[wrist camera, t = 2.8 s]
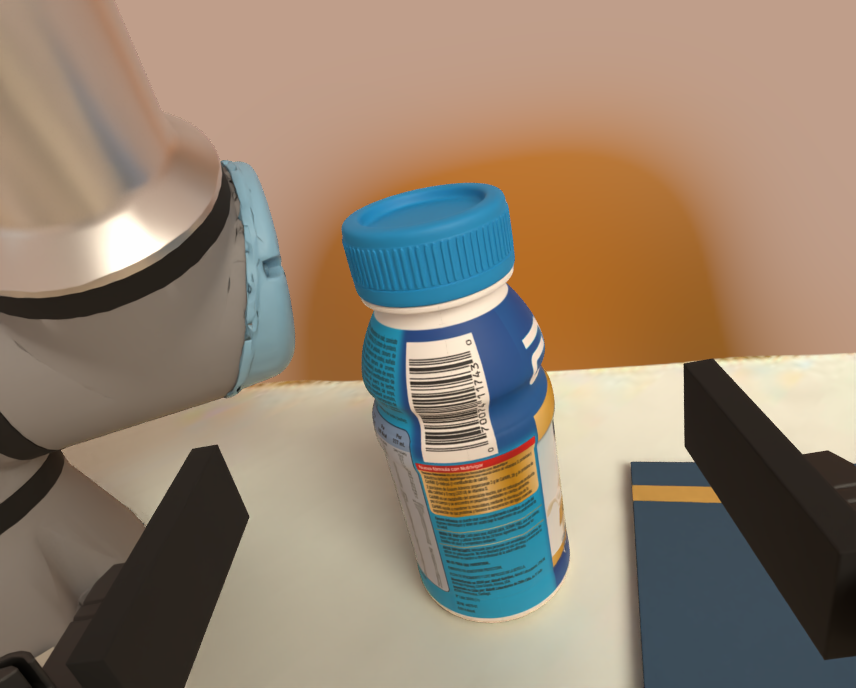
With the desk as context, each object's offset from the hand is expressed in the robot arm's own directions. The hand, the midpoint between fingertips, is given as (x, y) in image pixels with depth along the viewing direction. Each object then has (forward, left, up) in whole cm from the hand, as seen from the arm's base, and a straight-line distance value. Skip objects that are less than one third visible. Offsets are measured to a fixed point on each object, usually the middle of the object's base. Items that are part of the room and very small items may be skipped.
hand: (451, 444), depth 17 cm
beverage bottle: (-8, +5, -16) cm, 18 cm away
